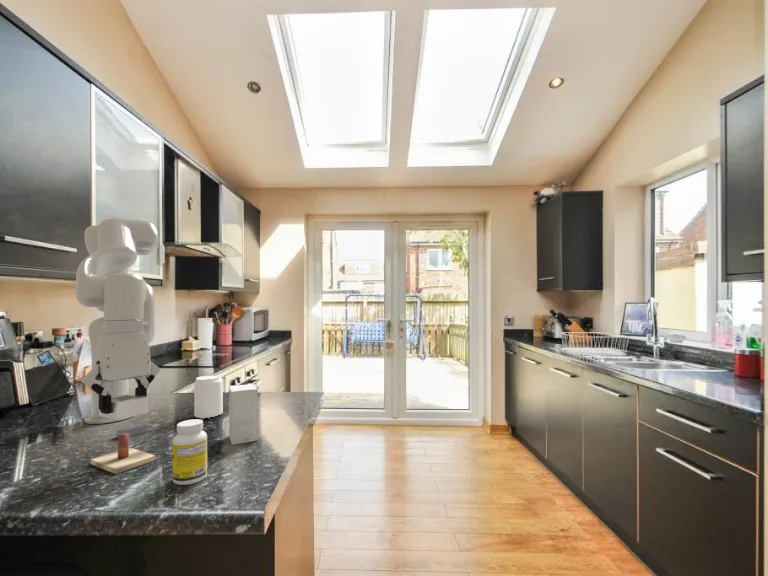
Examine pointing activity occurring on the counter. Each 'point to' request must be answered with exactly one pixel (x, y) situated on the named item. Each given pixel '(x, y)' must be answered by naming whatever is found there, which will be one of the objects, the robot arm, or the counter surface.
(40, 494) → the counter surface
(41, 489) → the counter surface
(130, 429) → the grey plaster slab
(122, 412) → the white hollow block
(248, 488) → the counter surface
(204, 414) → the beverage can
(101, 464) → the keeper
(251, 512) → the counter surface
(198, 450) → the pill bottle
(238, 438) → the small box
